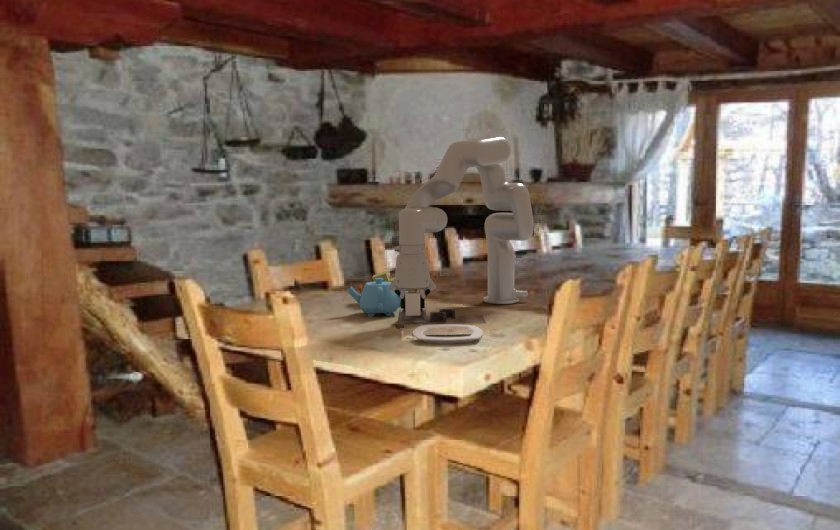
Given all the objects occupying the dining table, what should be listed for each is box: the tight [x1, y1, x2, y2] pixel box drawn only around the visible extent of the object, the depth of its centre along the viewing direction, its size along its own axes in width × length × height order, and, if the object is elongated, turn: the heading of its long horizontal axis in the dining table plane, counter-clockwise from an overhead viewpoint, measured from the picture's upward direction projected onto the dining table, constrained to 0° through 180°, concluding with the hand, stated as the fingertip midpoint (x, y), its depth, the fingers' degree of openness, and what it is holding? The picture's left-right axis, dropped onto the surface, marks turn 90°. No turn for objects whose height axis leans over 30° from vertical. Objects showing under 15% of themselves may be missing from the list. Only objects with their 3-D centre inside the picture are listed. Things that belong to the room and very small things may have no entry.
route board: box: [397, 308, 487, 329], centre depth 194 cm, size 26×12×4 cm, turn 91°
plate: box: [411, 324, 484, 344], centre depth 177 cm, size 19×19×2 cm
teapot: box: [346, 278, 406, 317], centre depth 211 cm, size 20×17×12 cm
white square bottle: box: [405, 289, 421, 316], centre depth 194 cm, size 4×4×8 cm
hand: (412, 310), depth 194 cm, fingers closed on white square bottle, 4 cm apart
